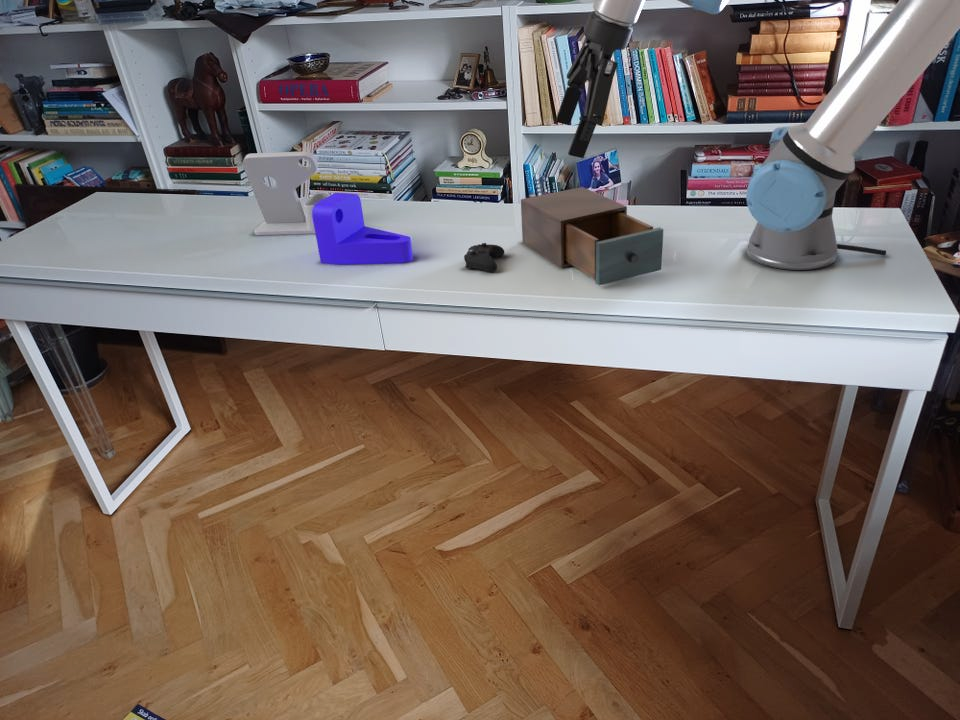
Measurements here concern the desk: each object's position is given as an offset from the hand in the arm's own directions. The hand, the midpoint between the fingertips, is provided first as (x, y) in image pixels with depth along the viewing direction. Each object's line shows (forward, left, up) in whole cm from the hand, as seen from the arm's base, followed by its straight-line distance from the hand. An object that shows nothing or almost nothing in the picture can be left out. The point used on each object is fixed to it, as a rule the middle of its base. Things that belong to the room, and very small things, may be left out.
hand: (568, 139), depth 133 cm
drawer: (-10, +3, -22) cm, 24 cm away
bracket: (+36, +18, -23) cm, 46 cm away
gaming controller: (+13, +11, -23) cm, 28 cm away
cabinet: (+2, -4, -22) cm, 23 cm away
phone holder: (+66, +12, -22) cm, 70 cm away
